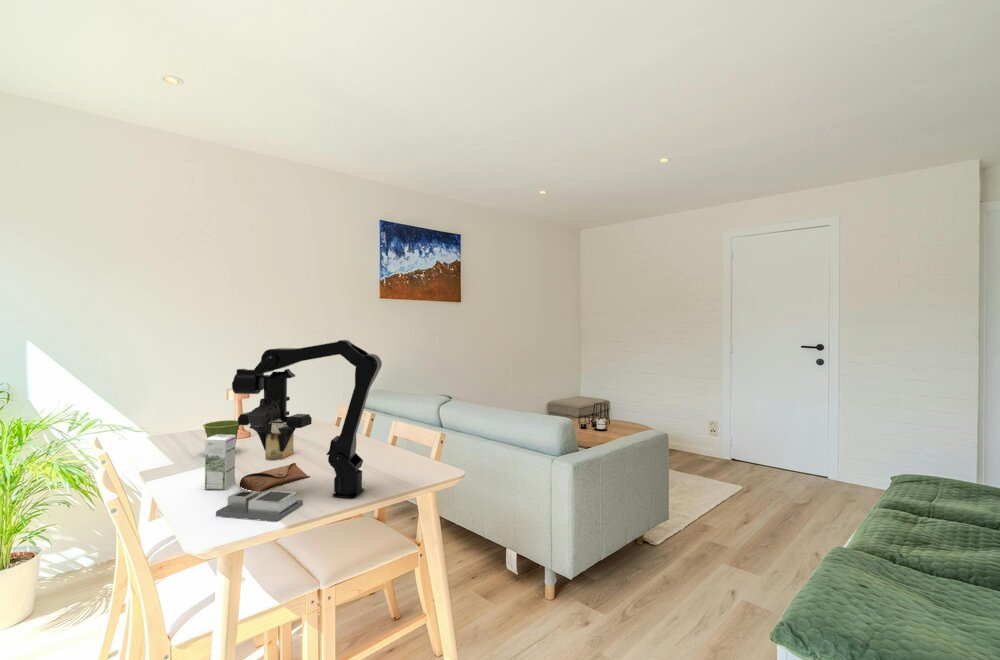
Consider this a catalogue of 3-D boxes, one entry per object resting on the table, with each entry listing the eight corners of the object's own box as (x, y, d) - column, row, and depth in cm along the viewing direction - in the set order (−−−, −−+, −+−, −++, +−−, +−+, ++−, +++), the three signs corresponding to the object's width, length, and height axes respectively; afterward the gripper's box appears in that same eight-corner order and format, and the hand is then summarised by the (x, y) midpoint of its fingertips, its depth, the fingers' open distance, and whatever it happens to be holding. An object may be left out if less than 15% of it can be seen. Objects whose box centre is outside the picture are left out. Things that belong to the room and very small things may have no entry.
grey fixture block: (302, 504, 122) (303, 490, 122) (276, 521, 111) (276, 506, 111) (246, 499, 124) (247, 486, 124) (215, 516, 113) (216, 501, 113)
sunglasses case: (257, 493, 129) (250, 470, 130) (243, 502, 132) (237, 479, 133) (312, 476, 144) (305, 456, 146) (299, 484, 147) (293, 464, 149)
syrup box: (235, 483, 137) (236, 433, 136) (224, 490, 131) (225, 438, 131) (215, 483, 136) (216, 433, 136) (203, 490, 130) (204, 438, 130)
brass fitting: (286, 456, 130) (286, 431, 130) (276, 461, 126) (277, 435, 126) (272, 455, 131) (272, 430, 131) (261, 460, 127) (262, 434, 127)
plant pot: (225, 449, 173) (226, 418, 173) (248, 453, 169) (249, 421, 169) (194, 457, 162) (194, 424, 162) (217, 461, 158) (218, 428, 158)
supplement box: (282, 459, 161) (283, 421, 161) (268, 459, 161) (269, 421, 161) (294, 453, 170) (294, 417, 169) (281, 453, 170) (281, 417, 170)
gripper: (223, 397, 122) (222, 456, 122) (289, 400, 119) (288, 461, 119) (252, 391, 133) (251, 446, 133) (313, 394, 130) (312, 450, 130)
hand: (274, 450), depth 129 cm, fingers closed on brass fitting, 4 cm apart
